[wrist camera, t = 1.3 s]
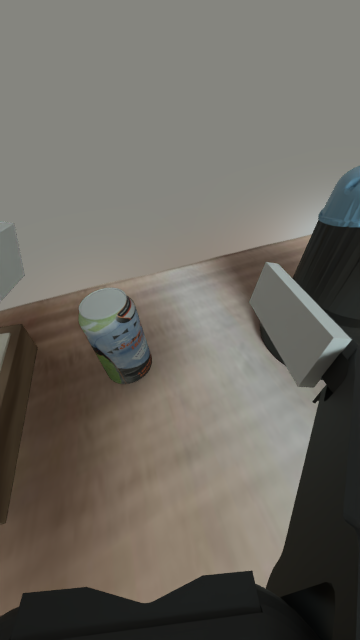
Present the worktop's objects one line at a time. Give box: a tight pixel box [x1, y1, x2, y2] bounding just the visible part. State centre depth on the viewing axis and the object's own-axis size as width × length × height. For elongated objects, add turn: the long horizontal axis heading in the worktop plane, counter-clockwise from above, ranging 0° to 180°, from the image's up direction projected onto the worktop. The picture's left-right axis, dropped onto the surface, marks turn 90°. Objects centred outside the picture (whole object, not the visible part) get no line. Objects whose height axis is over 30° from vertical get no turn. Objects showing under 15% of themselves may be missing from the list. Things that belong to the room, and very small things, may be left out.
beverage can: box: [79, 288, 152, 384], centre depth 29 cm, size 6×7×12 cm
